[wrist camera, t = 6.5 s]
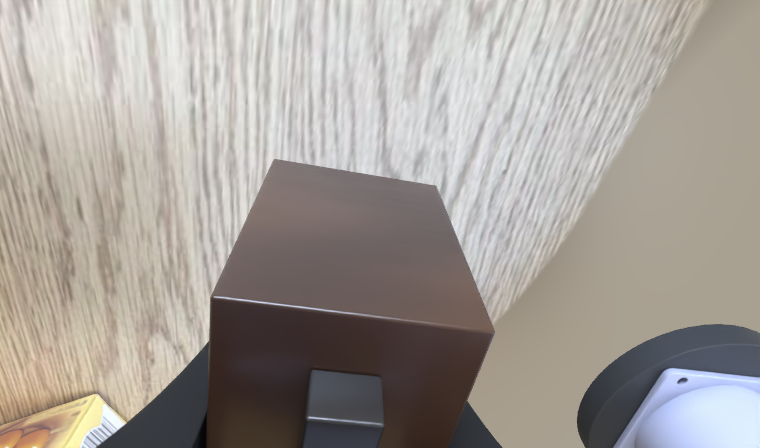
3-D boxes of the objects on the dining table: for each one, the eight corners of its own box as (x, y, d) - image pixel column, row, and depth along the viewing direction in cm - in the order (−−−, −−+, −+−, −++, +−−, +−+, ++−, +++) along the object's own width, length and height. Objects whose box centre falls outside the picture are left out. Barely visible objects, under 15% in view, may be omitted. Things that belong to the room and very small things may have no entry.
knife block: (436, 185, 13) (516, 380, 6) (370, 424, 17) (380, 673, 11) (273, 157, 12) (187, 344, 6) (249, 413, 16) (187, 670, 10)
